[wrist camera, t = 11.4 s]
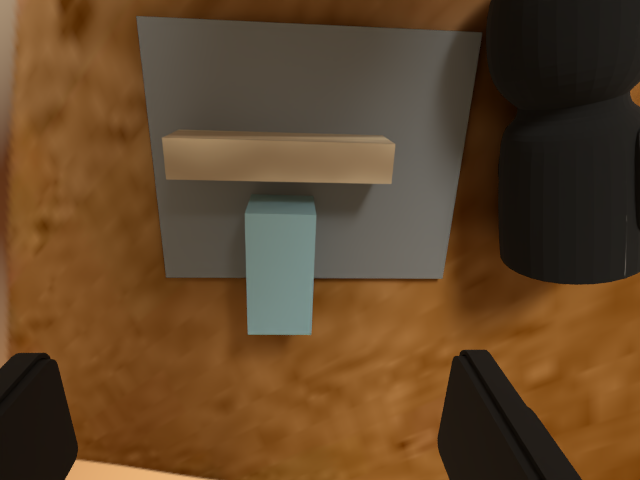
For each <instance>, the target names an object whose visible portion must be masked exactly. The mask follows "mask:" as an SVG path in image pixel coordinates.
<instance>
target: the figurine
mask: <svg viewBox="0 0 640 480" xmlns="http://www.w3.org/2000/svg"><path fill="white" fill-rule="evenodd" d="M486 51H487V61H488V67H489V72H490V74H491V77H492V80H493V82H494V84H495V86H496V88H497V90H498V91H499V92H500V93H501V94H502V95H503V97H504V98H506V99H507V100H508V101H509V102H510V103H512V104H513V105H514V106H516V107H517V114H516V117H515V119H514V120H513V121H512V122H511V123H510V124H509V125H508V127H507V128H506V129H505V131H504V133H503V137H502V141H501V148H500V156H499V164H498V177H499V187H498V215H499V243H500V255H501V259H502V261H503V262H504V264H506V265H507V266H508V267H509V268H510V269H512V270H514V271H515V272H517V273H519V274H521V275H524V276H527V277H530V278H533V279H537V280H541V281H546V282H552V283H559V284H575V285H578V284H598V283H606V282H612V281H616V280H620V279H625V278H627V277H630V276H632V275H635V274H637V273H639V272H640V107H639V106H638V105H636V104H635V103H634V102H633V101H632V99H631V96H630V90H631V89H632V88H633V87H634V86H636V85H637V84H638V83H639V82H640V0H491V3H490V6H489V12H488V17H487V27H486Z"/></svg>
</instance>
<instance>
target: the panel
mask: <svg viewBox="0 0 640 480" xmlns="http://www.w3.org/2000/svg"><path fill="white" fill-rule="evenodd" d="M136 19H137V27H138V36H139V45H140V54H141V62H142V71H143V80H144V89H145V97H146V106H147V115H148V124H149V132H150V141H151V150H152V158H153V167H154V176H155V185H156V193H157V202H158V211H159V220H160V228H161V237H162V246H163V255H164V263H165V272H166V277H168V278H246V245H245V211H246V208H247V206H248V203H249V200H250V197H251V194H259V195H298V196H313V198H314V204H315V210H316V235H315V259H314V278H404V279H442V278H443V272H444V266H445V260H446V254H447V248H448V241H449V235H450V229H451V223H452V217H453V211H454V205H455V198H456V192H457V186H458V180H459V174H460V168H461V161H462V155H463V149H464V143H465V137H466V131H467V125H468V118H469V112H470V106H471V100H472V94H473V88H474V81H475V75H476V69H477V63H478V57H479V51H480V45H481V38H482V32H465V31H443V30H422V29H401V28H380V27H358V26H337V25H316V24H295V23H273V22H252V21H231V20H209V19H188V18H167V17H146V16H136ZM177 130H212V131H247V132H282V133H317V134H352V135H383V136H384V137H386V138H387V139H389V140H390V141H392V142H393V143H395V154H394V164H393V174H392V184H366V183H316V182H267V181H218V180H169V179H166V173H165V163H164V154H163V144H162V137H165V136H167V135H169V134H171V133H173V132H175V131H177Z"/></svg>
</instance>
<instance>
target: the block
mask: <svg viewBox="0 0 640 480" xmlns="http://www.w3.org/2000/svg"><path fill="white" fill-rule="evenodd" d="M315 235H316V210H315V204H314V198H313V196H298V195H259V194H251V197H250V200H249V203H248V206H247V208H246V211H245V245H246V285H247V325H248V335H311V330H312V306H313V283H314V259H315Z"/></svg>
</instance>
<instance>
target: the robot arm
mask: <svg viewBox="0 0 640 480" xmlns="http://www.w3.org/2000/svg"><path fill="white" fill-rule="evenodd" d="M438 449H439V453H440V456H441V458H442V461H443V464H444V466H445V469H446V471H447V474H448V477H449V479H450V480H582V479H581V478H580V476H579V475H578V473H577V472H576V471H575V469H574V468H573V466H572V465H571V463H570V462H569V461H568V459H567V458H566V456H565V455H564V454H563V452H562V451H561V449H560V448H559V447H558V445H557V444H556V442H555V441H554V439H553V438H552V437H551V435H550V434H549V432H548V431H547V430H546V428H545V427H544V425H543V424H542V423H541V421H540V420H539V418H538V417H537V415H536V414H535V413H534V412H533V411H532V410H531V409H530V408H529V407H527V406H526V404H525V403H524V402H523V400H522V399H521V397H520V396H519V394H518V393H517V392H516V390H515V389H514V387H513V386H512V384H511V383H510V382H509V380H508V379H507V377H506V376H505V374H504V373H503V372H502V370H501V369H500V367H499V366H498V364H497V363H496V361H495V360H494V359H493V357H492V356H491V354H490V353H489V352H488V351H487V350H462V351H461V352H460V355H459V356H455V357H454V358H453V361H452V366H451V371H450V376H449V381H448V386H447V392H446V397H445V402H444V407H443V412H442V418H441V423H440V428H439V433H438ZM77 452H78V445H77V440H76V436H75V432H74V428H73V424H72V420H71V416H70V412H69V408H68V404H67V400H66V396H65V392H64V388H63V384H62V380H61V376H60V372H59V368H58V364H57V362H56V361H55V360H53V359H50V356H49V355H48V354H46V353H18V354H15V355H14V356H12V357H11V358H10V359H9V360H8V361H7V362H6V363H5V364H4V365H3V366H2V367H1V368H0V480H65V478H66V476H67V475H68V473H69V471H70V469H71V468H72V465H73V464H74V462H75V460H76V457H77Z"/></svg>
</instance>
